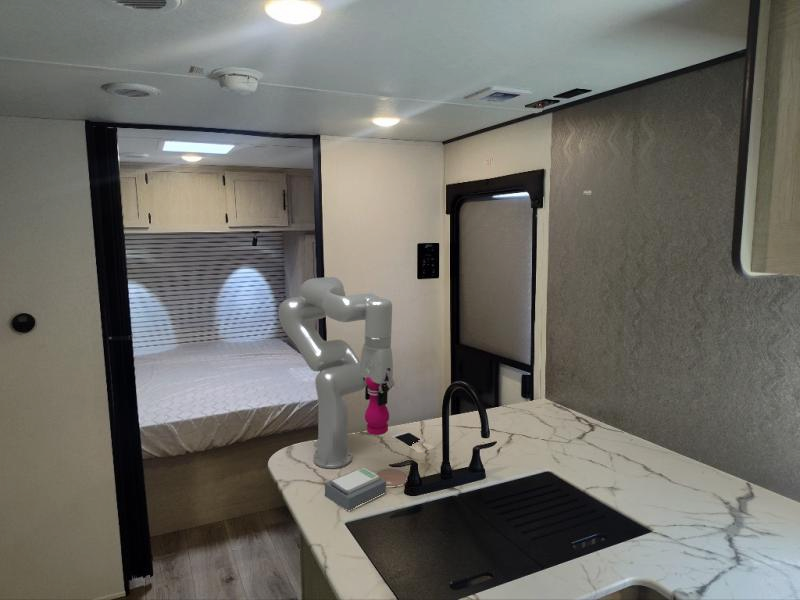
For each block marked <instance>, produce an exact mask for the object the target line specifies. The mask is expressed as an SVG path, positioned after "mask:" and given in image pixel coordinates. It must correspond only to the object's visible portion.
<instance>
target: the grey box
mask: <svg viewBox="0 0 800 600" xmlns="http://www.w3.org/2000/svg"><path fill="white" fill-rule="evenodd" d="M361 468H362V467H360V468H358V469H355V470H352V471H351V472H348V473H345V474H344V475H340V476H338V477H336V478H334V479H331V480H329V481H327V482H324V497H326V498H327V499H329V500H330V501H332V502H333V501H334V502H333V503H334V504H336V503H337V504H336V505H337V506H339V505H340V506H342V507H344V508H345V509H347V510H351V509H353V508H355V507H356V506H358V505H360V504H362V503H365V502H367V501H369V500H371V499H373V498H375V497H377V496H379V495H381V494H383V493H385V492H386V493H387V488H386V481H384V480H383V479H381V478H379V480H377V481H375V482H372V483H370V484H368V485H366V486H364V487H361V488H359V489H357V490H355V491H352V492H350V493H348V494H346V493H344V492H342V491H341V490H339V489H338V488H336V487H335V486H333V485H332V484H331V481H333V480H335V479H337V478H340V477H342V476H345V475H347V474H349V473H352V472H354V471H357V470H359V469H361ZM340 506H339V507H340ZM342 507H341V508H342ZM345 509H344V510H345Z"/></svg>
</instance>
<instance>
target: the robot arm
mask: <svg viewBox="0 0 800 600" xmlns="http://www.w3.org/2000/svg"><path fill="white" fill-rule="evenodd" d="M299 292H300V293H299V294H300V296H295V297H290V298H287V299H285V300H283V301H282V302H281V303H280V304H279V306H278V313H277V314H278V319H279V324H280V325H281V327H282V329H283V331H284V332H285V334H287V336H288V337H289V338H290V339H291V340H292V341H293V343H294V344H295V347H297V349H298V351H299V353H300V355H301V356H302V358H303V359H304V361H305V363H306V365H307V366H308V367H309V369H310V370H312V371H313V372H319V373H317V374H316V376H315V380H314V382H315V383H314V385H315V390H316V395H317V405H318V410H317V411H318V418H317V419H318V428H317V429H318V430H317V431H318V432H317V435H318V437H317V440H316V442H314V443H313V447H315V448H316V452H315V454H313V463H314V464H315V465H316V466H318V467H319V468H320V467H321V468H323V469H340V468H342V467H346V466H347V465H349V464H351V462H352V460H353V458H352V457H353V455H352V453H351V452H350V451H348V432H349V431H348V425H349V423H348V421H349V419H348V418H349V415H348V414H349V413H348V412H349V411H348V410H349V409H348V406H347V404H346V402H345V401H344V400H343V396H346V395H349V394H354V393H356V392H359V391H361V390H363V389H365V391H364V393H365V396H364V399H365V400H366V401H368V400H369V401H370V395H369V393H368V386H367V384H366V378H367V377H370V378H371V379H372V381H373V382H374V383H377V384H379V392H378V406H382V405H387V404H388V394H389V393H388V392H390V390H391V389H392V388H393V387H394V386H395V385H396V383H395V381H394V378H393V376H394V369H393V367H394V366H393V365H394V362H393V360H394V359H393V351H392V324H393V323H392V321H393V303H392V301H391V300H390V299H389V298H383V297H380V296H377V295H376V294H373V293H362V294H352V295H351V294H350V295H346V292H345V287H344V285H343V282H342V281H341V280H340V279H339V278H338V277H335V276H328V277H327V276H325V277H314V278H310V279H307V280H305V281H304V282H302V284H301V286H300V288H299ZM326 317H327V318H328V319H332V320H333V321H338V322H341V323H351V322H356V321H364V320H365V323H364V344H363V345H362V350H361V354H360V355H361V356H360V359H359V357H358V356H357V354H356V353H355V352H354V350H353V349H352V347H351V345H350V344H349V343H348V342H346V341H344V340H343V339H332V340H325V339H323V338H322V337H321V335H320V334H319V332H318V331H317V329H316V328H314V327H313V326H312V325H310V324H308V323H306V321H313V320H315V321H316V320H321V319H323V318H326ZM384 380H385V381H384ZM384 383H385V385H384V387H383V385H382V384H384Z"/></svg>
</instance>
